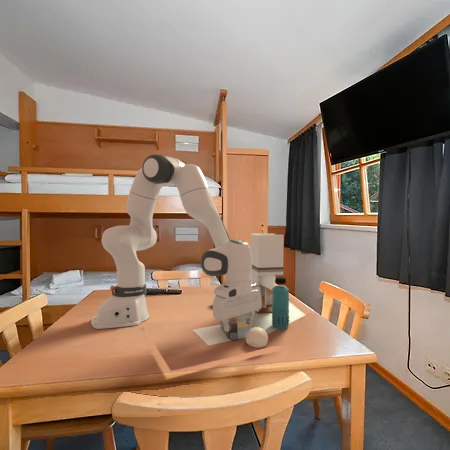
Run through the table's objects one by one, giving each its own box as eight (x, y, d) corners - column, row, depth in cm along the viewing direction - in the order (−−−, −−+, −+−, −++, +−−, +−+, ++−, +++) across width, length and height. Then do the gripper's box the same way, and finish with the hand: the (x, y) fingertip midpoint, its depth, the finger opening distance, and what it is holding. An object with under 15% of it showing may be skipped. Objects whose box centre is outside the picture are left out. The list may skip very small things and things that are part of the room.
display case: (257, 317, 124) (258, 235, 123) (250, 309, 134) (251, 233, 133) (282, 315, 126) (283, 234, 125) (274, 308, 136) (274, 233, 135)
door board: (208, 350, 93) (208, 331, 93) (192, 333, 106) (192, 317, 106) (265, 337, 103) (265, 320, 103) (244, 323, 116) (244, 308, 116)
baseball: (241, 346, 96) (241, 326, 96) (260, 342, 99) (260, 322, 99) (251, 354, 90) (251, 333, 90) (271, 350, 93) (271, 329, 93)
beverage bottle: (276, 334, 106) (276, 279, 105) (268, 327, 112) (269, 276, 112) (292, 332, 107) (292, 278, 107) (284, 325, 114) (284, 275, 113)
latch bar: (238, 339, 97) (238, 324, 97) (230, 340, 96) (230, 325, 96) (229, 329, 106) (229, 315, 106) (221, 330, 105) (221, 316, 105)
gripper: (253, 281, 109) (253, 318, 109) (210, 290, 96) (209, 331, 96) (266, 284, 104) (265, 322, 104) (222, 294, 91) (222, 337, 91)
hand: (238, 327), depth 100 cm, fingers open, 8 cm apart
